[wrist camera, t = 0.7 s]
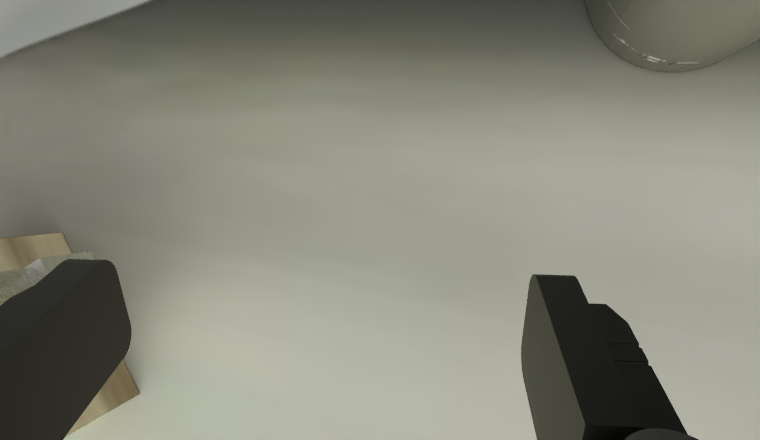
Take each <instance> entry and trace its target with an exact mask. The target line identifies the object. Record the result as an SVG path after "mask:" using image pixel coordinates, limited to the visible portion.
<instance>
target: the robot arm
mask: <svg viewBox="0 0 760 440" xmlns="http://www.w3.org/2000/svg"><path fill="white" fill-rule="evenodd" d="M585 1H586V5H587V10H588V14H589V18H590V20H591V22H592V24H593V26H594V28H595V30H596V32H597V34H598V35H599V37H600V38H601V39H602V40H603V42H604V43H605V44H606V45H607V47H608V48H609V49H611V50H612V51H613V52H615V53H616V54H617V55H618V56H620V57H621V58H622V59H624V60H626V61H628V62H630V63H632V64H634V65H636V66H639V67H641V68H646V69H650V70H654V71H658V72H683V71H689V70H695V69H700V68H703V67H705V66H708V65H711V64H714V63H716V62H719V61H721V60H722V59H724V58H726V57H728V56H729V55H731V54H733V53H735V52H736V51H738V50H740V49H742V48H744V47H745V46H747V45H749V44H751V43H753V42H755V41H757V40H758V39H760V0H585ZM130 341H131V325H130V320H129V317H128V313H127V309H126V305H125V301H124V297H123V294H122V290H121V286H120V282H119V278H118V275H117V271H116V268H115V266H114V265H113V264H112V263H111V262H110V261H108V260H90V259H67V260H64V261H63V262H61V263H60V264H59V265H58V266H57V267H55V268H54V269H53V270H52V271H51V272H50V273H48V274H47V275H46V276H45V277H44V278H43V279H41V280H40V281H39V282H38V283H37V284H36V285H34V286H32V287H30V288H28V289H26V290H24V291H22V292H20V293H18V294H16V295H14V296H13V297H11V298H9V299H8V300H7V301H5V302H4V303H3V304H2V305H1V306H0V440H63V439H64V438H65V436H66V435H67V434H68V432H69V431H70V430H71V428H72V427H73V426H74V424H75V423H76V422H77V420H78V419H79V417H80V416H81V415H82V413H83V412H84V411H85V409H86V408H87V407H88V405H89V404H90V403H91V401H92V400H93V399H94V397H95V396H96V395H97V393H98V392H99V391H100V389H101V388H102V387H103V385H104V384H105V383H106V381H107V380H108V379H109V377H110V376H111V375H112V373H113V372H114V371H115V369H116V368H117V367H118V365H119V364H120V363H121V361H122V360H123V359H124V357H125V355H126V353H127V351H128V349H129V345H130ZM521 361H522V372H523V378H524V383H525V387H526V392H527V396H528V401H529V405H530V410H531V414H532V419H533V423H534V427H535V432H536V436H537V440H698V439H696V438H694V437H691V436H689V435H688V434H687V432H686V431H685V429H684V427H683V425H682V423H681V421H680V419H679V417H678V416H677V414H676V412H675V410H674V408H673V406H672V404H671V403H670V401H669V399H668V397H667V395H666V393H665V391H664V390H663V388H662V386H661V384H660V382H659V380H658V378H657V376H656V375H655V373H654V371H653V369H652V367H651V366H649V365H648V360H647V358H646V356H645V354H644V352H643V350H642V349H641V348H639V343H638V341H637V339H636V337H635V335H634V334H633V332H632V330H631V328H630V326H629V324H628V323H627V322H626V321H625V320H624V319H623V318H622V317H620V316H619V315H618V314H617V313H616V312H614V311H613V310H612V309H611V308H610V307H609V306H607V305H606V304H588V301H587V299H586V297H585V295H584V293H583V290H582V288H581V286H580V284H579V282H578V280H577V278H576V277H575V276H566V275H535V274H534V275H532V277H531V280H530V284H529V291H528V299H527V306H526V314H525V322H524V330H523V337H522V348H521Z"/></svg>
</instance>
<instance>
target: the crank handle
mask: <svg viewBox="0 0 760 440" xmlns="http://www.w3.org/2000/svg"><path fill="white" fill-rule="evenodd" d="M67 259H90V260H95V258H94V256H93V254H92V252H91V251H85V252H78V253H71V254H65V255H58V256H51V257H45V258H39V259H38V260H36V261H34V262H33V263H31V264H29V265H28V266H26V267H24V268H20V269H14V270H8V271H2V272H0V306H1V305H2V304H3V303H4V302H5V301H7V300H8V299H9V298H11V297H13V296H14V295H16V294H18V293H20V292H22V291H24V290H26V289H28V288H30V287H32V286H34V285H36V284H37V283H38V282H39V281H40V280H41V279H43V278H44V277H45V276H46V275H47V274H48V273H50V272H51V271H52V270H53V269H54V268H55V267H57V266H58V265H59V264H60V263H61V262H63V261H64V260H67Z"/></svg>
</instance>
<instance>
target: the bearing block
mask: <svg viewBox="0 0 760 440" xmlns="http://www.w3.org/2000/svg"><path fill="white" fill-rule="evenodd" d="M65 254H71V251H70V248H69V246H68V244H67V242H66V240H65V238H64V236H63V234H62V233H52V234H42V235H32V236H21V237H11V238H1V239H0V272H2V271H8V270H14V269H20V268H24V267H26V266H28V265H29V264H31V263H33V262H34V261H36V260H38V259H39V258H45V257H51V256H58V255H65ZM138 394H139V392H138V390H137V387H136V385H135V383H134V381H133V379H132V377H131V375H130V373H129V371H128V369H127V367H126V365H125V363H124V361H123V360H122V361H121V363H120V364H119V365H118V367H117V368H116V369H115V371H114V372H113V373H112V375H111V376H110V377H109V379H108V380H107V381H106V383H105V384H104V385H103V387H102V388H101V389H100V391H99V392H98V393H97V395H96V396H95V397H94V399H93V400H92V401H91V403H90V404H89V405H88V407H87V408H86V409H85V411H84V412H83V413H82V415H81V416H80V417H79V419H78V420H77V422H76V423H75V424H74V426H73V427H72V428H71V430H70V431H69V432H68V434H67V435H69V434H71V433H73V432H74V431H76V430H78V429H80V428H81V427H83V426H85V425H86V424H88V423H90V422H92V421H93V420H95V419H97V418H99V417H100V416H102V415H104V414H106V413H107V412H109V411H111V410H112V409H114V408H116V407H118V406H119V405H121V404H123V403H125V402H126V401H128V400H130V399H132V398H133V397H135V396H137V395H138ZM67 435H66V436H67ZM66 436H65V437H66Z"/></svg>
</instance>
